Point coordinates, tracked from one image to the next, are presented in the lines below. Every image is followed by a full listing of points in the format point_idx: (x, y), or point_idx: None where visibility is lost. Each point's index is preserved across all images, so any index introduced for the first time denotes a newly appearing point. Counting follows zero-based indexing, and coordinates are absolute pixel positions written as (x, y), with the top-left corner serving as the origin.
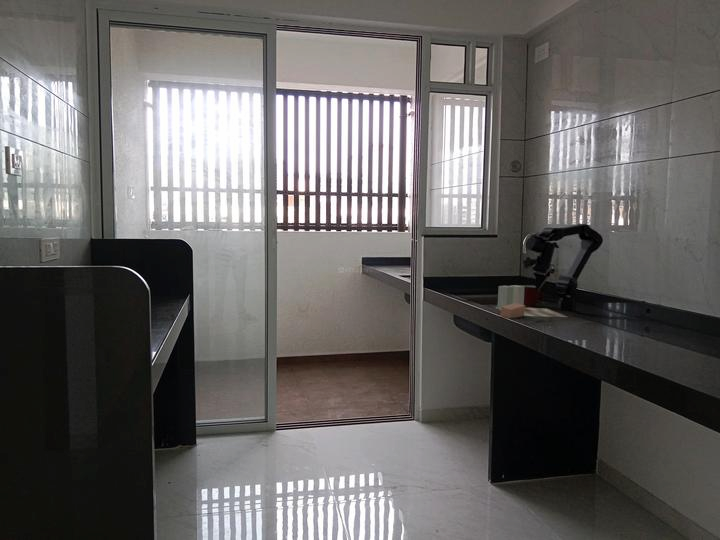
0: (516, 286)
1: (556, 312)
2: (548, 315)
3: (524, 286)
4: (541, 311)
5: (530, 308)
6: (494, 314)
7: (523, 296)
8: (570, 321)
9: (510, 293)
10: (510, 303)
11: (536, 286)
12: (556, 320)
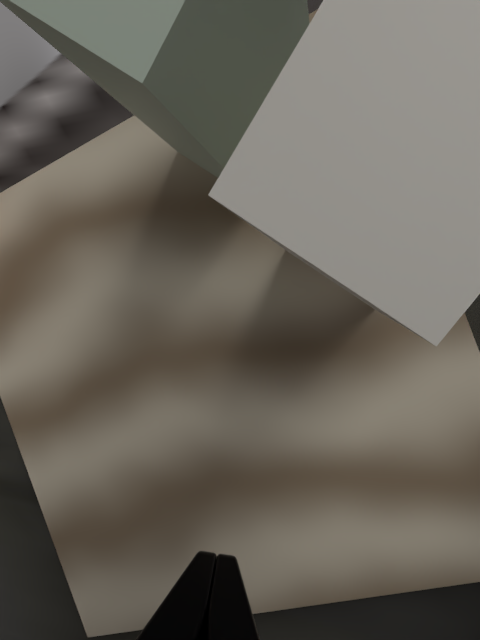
0: (272, 138)
1: (284, 605)
2: (82, 502)
3: (431, 343)
4: (272, 477)
5: (442, 387)
6: (39, 91)
7: (382, 313)
8: (33, 614)
9: (142, 106)
10: (210, 167)
11: (155, 623)
12: (23, 530)
